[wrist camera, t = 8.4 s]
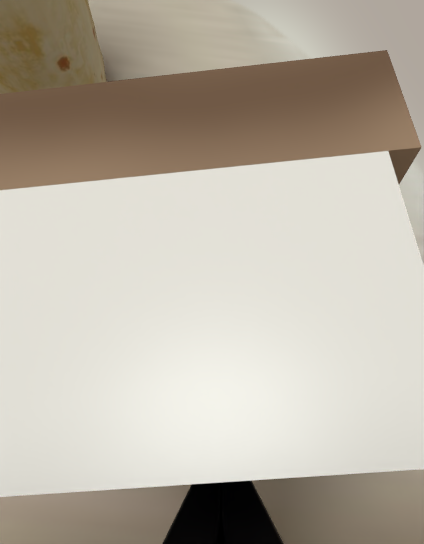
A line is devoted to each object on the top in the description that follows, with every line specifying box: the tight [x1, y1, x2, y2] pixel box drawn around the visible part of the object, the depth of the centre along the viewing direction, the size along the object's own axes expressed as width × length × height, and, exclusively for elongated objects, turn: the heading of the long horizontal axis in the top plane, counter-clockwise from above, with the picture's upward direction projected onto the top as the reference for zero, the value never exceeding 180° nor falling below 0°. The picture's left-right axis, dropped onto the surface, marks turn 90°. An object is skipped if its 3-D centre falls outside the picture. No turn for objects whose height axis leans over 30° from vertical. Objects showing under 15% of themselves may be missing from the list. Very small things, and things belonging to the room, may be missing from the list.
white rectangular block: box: [0, 151, 424, 497], centre depth 10 cm, size 4×6×11 cm
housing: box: [0, 50, 421, 190], centre depth 12 cm, size 9×10×9 cm
